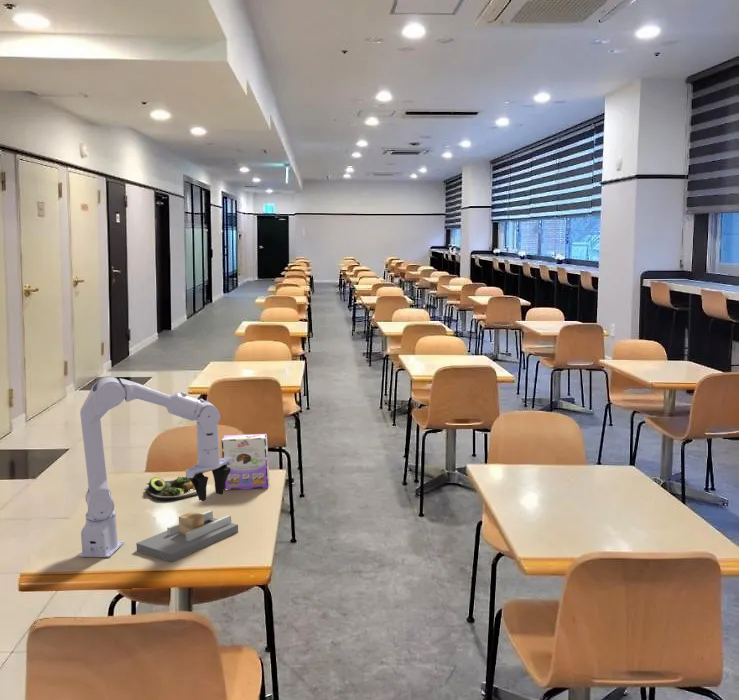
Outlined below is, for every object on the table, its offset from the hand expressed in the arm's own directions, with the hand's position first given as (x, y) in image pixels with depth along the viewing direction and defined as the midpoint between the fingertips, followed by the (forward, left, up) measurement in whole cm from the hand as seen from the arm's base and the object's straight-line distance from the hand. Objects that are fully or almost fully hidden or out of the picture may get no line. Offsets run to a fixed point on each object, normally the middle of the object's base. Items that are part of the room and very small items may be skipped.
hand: (211, 497), depth 213 cm
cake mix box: (+37, 0, -10) cm, 38 cm away
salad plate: (+32, +22, -10) cm, 40 cm away
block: (-6, +4, -7) cm, 10 cm away
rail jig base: (-7, +4, -9) cm, 13 cm away
